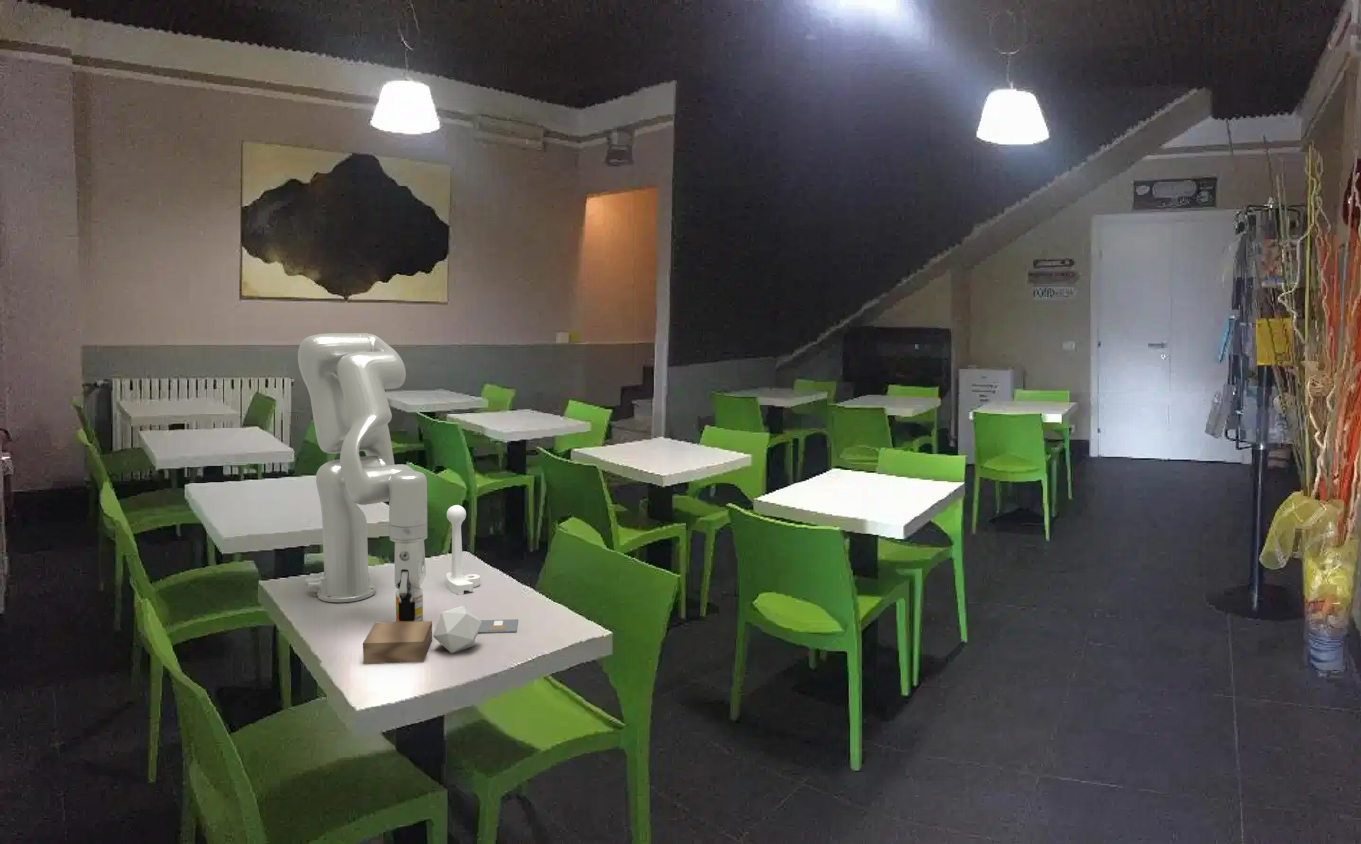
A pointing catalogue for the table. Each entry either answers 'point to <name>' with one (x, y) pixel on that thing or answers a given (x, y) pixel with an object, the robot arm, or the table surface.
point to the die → (457, 629)
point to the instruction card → (498, 626)
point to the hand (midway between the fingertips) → (409, 614)
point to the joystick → (458, 555)
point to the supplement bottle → (418, 604)
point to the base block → (397, 642)
